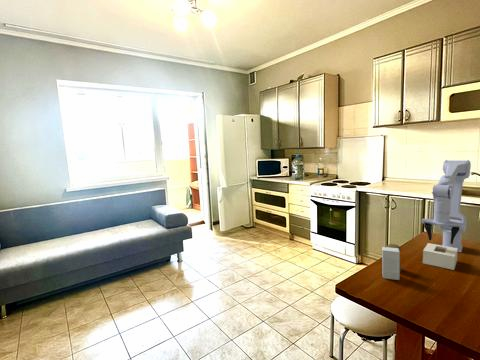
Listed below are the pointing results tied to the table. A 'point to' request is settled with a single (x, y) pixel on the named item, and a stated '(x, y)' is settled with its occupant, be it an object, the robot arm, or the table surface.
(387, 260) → the skincare box
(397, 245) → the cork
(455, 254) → the slot box
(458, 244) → the robot arm
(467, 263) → the table surface
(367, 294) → the table surface
